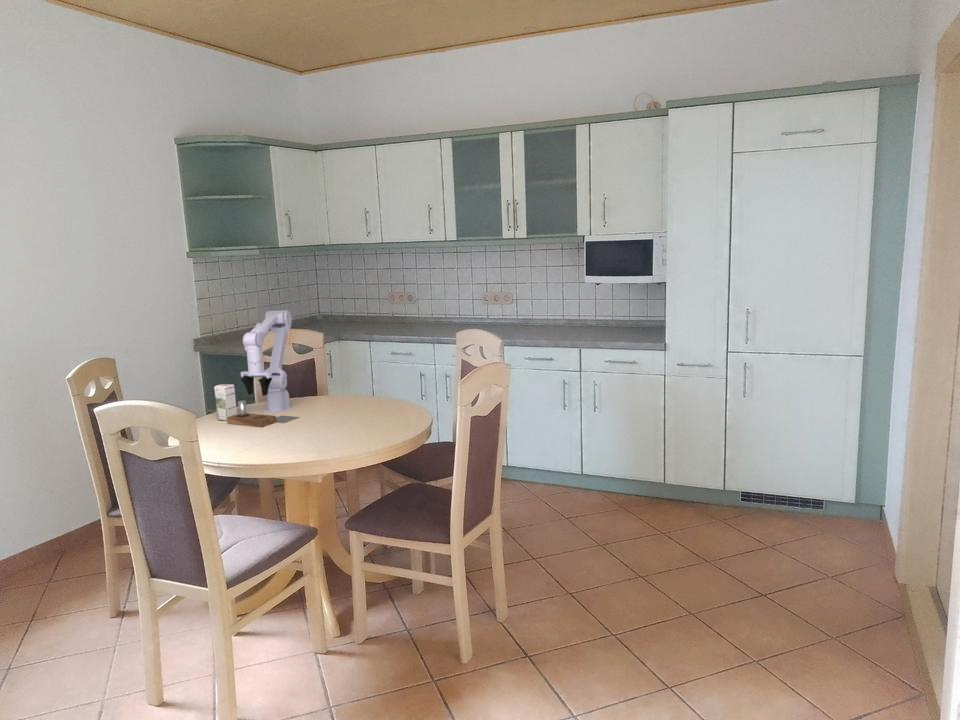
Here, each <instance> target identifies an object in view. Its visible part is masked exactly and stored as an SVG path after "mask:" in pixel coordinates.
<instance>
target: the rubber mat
mask: <svg viewBox="0 0 960 720" xmlns="http://www.w3.org/2000/svg"><path fill="white" fill-rule="evenodd" d="M299 418H301V416H300V417H299V416H292V415H291V416H290V415H279V416H276V423H275V424H286V423H289V422H291V421H295V420H298V419H299Z"/></svg>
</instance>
